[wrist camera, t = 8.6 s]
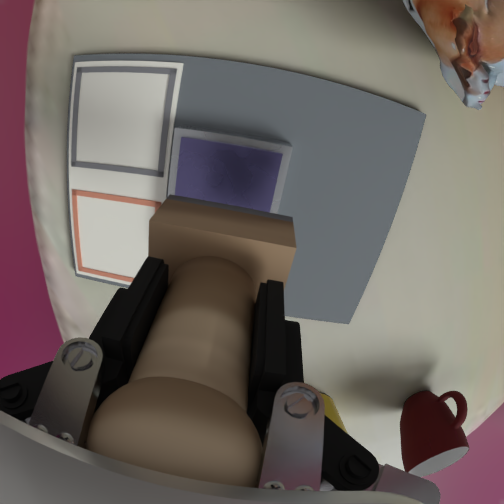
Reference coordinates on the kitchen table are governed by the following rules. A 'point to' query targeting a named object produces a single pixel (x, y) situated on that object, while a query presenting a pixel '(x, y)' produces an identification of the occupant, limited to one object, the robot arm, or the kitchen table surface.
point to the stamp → (198, 346)
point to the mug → (432, 432)
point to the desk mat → (307, 166)
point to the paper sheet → (119, 161)
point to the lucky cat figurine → (465, 43)
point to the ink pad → (228, 167)
